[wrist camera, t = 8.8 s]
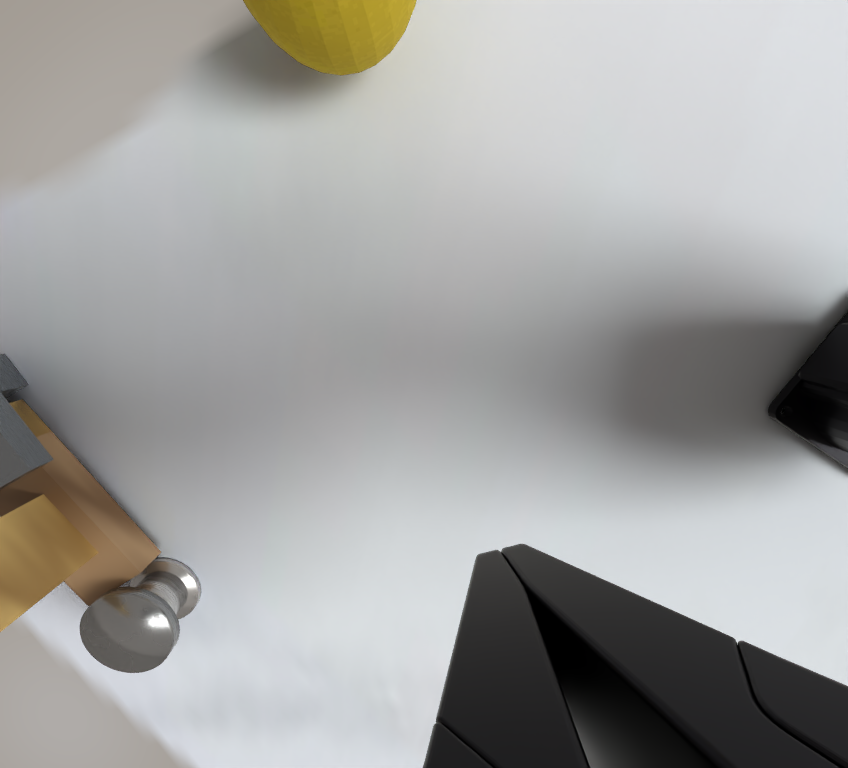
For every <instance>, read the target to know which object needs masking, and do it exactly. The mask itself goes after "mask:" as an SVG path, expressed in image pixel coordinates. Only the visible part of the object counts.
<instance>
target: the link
mask: <svg viewBox="0 0 848 768" xmlns="http://www.w3.org/2000/svg"><path fill="white" fill-rule="evenodd" d="M10 405H11V406H12V407H13V409H14V410H15V411H16V412H17V414H18V415H19V416H20V417H21V419H22V420H23V421H24V422H25V424H26V425H27V426H28V427H29V429H30V430H31V431H32V433H33V434H34V435H35V436H36V438H37V439H38V440H39V441H40V443H41V444H42V445H43V446H44V448H45V449H46V450H47V451H48V453H49V454H50V455H51V457H52V458H53V459H54V460H52V461H50V462H49V463H47V464H45V465H43V466H41V467H40V468H38V469H36V470H34V471H33V472H31V473H29V474H27V475H26V476H24V477H22V478H20V479H19V480H17V481H15V482H13V483H11V484H10V485H8V486H6V487H4V488H3V489H1V490H0V632H1V631H2V630H3V629H5V628H6V627H7V626H8V625H10V624H11V623H12V622H13V621H15V620H16V619H17V618H18V617H20V616H21V615H22V614H23V613H25V612H26V611H27V610H28V609H30V608H31V607H32V606H33V605H34V604H36V603H37V602H38V601H39V600H41V599H42V598H43V597H44V596H46V595H47V594H48V593H49V592H51V591H52V590H53V589H54V588H56V587H57V586H58V585H59V584H61V583H62V582H63V581H64V582H65V583H66V584H67V585H68V586H69V587H70V588H71V589H72V590H73V591H74V592H75V593H76V594H77V595H78V596H79V597H80V598H81V599H82V600H83V601H84V602H85V603H86V604H87V605H88V606H90V605H91V604H93V603H94V602H95V601H96V600H97V599H98V598H99V597H100V596H101V595H103V594H104V593H106V592H107V591H109V590H112V589H115V588H118V587H120V586H121V585H123V584H124V583H126V582H127V581H129V580H130V579H132V578H134V577H135V576H137V575H138V574H140V573H141V572H142V571H143V570H144V569H145V568H146V567H147V566H148V565H149V564H150V563H151V562H152V561H153V560H154V559H155V558H156V557H157V556H158V555H159V554H160V553H161V551H160V550H159V549H158V548H157V547H156V546H155V545H154V544H153V543H152V541H151V540H150V539H149V538H148V537H147V536H146V535H145V534H144V533H143V531H142V530H141V529H140V528H139V527H138V526H137V525H136V524H135V523H134V522H133V520H132V519H131V518H130V517H129V516H128V515H127V514H126V513H125V512H124V511H123V509H122V508H121V507H120V506H119V505H118V504H117V503H116V502H115V501H114V500H113V498H112V497H111V496H110V495H109V494H108V493H107V492H106V491H105V490H104V489H103V487H102V486H101V485H100V484H99V483H98V482H97V481H96V480H95V479H94V477H93V476H92V475H91V474H90V473H89V472H88V471H87V470H86V469H85V468H84V466H83V465H82V464H81V463H80V462H79V461H78V460H77V459H76V458H75V457H74V455H73V454H72V453H71V452H70V451H69V450H68V449H67V448H66V447H65V446H64V444H63V443H62V442H61V441H60V440H59V439H58V438H57V437H56V436H55V435H54V433H53V432H52V431H51V430H50V429H49V428H48V427H47V426H46V425H45V423H44V422H43V421H42V420H41V419H40V418H39V417H38V416H37V415H36V414H35V412H34V411H33V410H32V409H31V408H30V407H29V406H28V405H27V404H26V403H25V401H24V400H23V399H21V400H18V401H14V402H10Z"/></svg>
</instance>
